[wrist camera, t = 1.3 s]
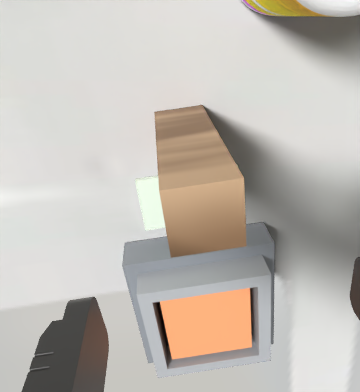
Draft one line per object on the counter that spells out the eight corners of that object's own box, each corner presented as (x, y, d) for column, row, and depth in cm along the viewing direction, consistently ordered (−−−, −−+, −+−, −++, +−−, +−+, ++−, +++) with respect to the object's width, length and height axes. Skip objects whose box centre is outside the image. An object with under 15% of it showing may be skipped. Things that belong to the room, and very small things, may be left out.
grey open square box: (124, 242, 29) (120, 286, 24) (263, 221, 29) (284, 261, 25) (148, 336, 35) (148, 386, 30) (264, 318, 35) (281, 366, 30)
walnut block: (154, 112, 24) (158, 190, 13) (202, 104, 24) (243, 178, 13) (161, 156, 26) (170, 257, 15) (206, 149, 26) (246, 246, 15)
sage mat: (135, 178, 26) (135, 181, 26) (237, 163, 26) (238, 165, 26) (145, 227, 28) (145, 230, 28) (239, 213, 29) (240, 216, 28)
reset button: (158, 275, 29) (159, 301, 26) (240, 262, 29) (249, 287, 26) (170, 331, 32) (172, 359, 29) (243, 319, 32) (251, 347, 30)
